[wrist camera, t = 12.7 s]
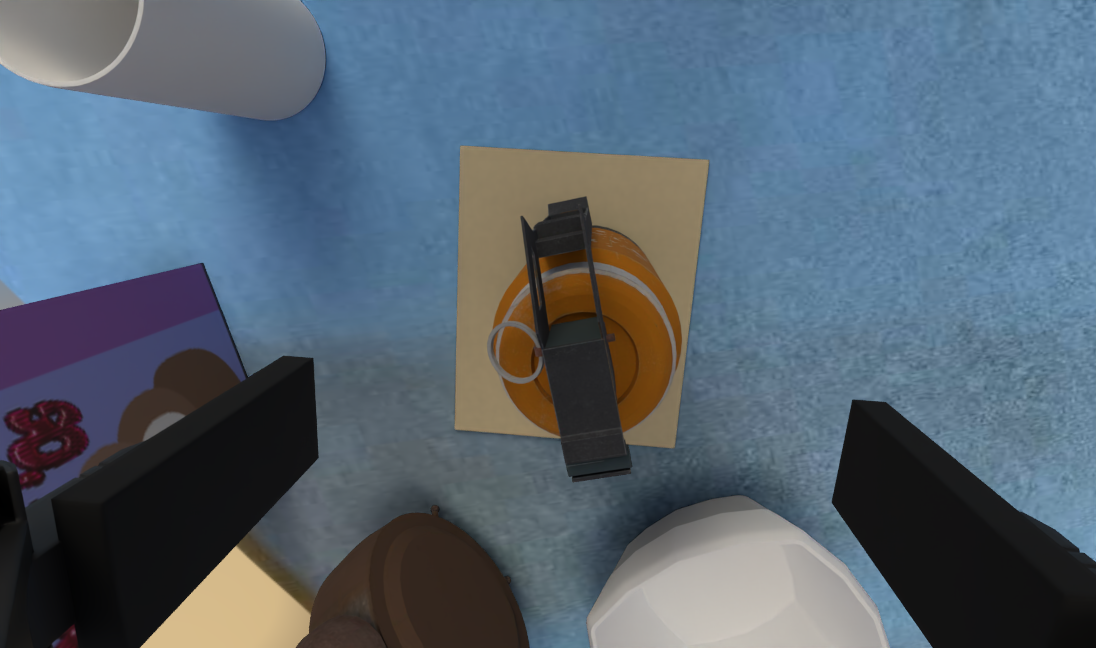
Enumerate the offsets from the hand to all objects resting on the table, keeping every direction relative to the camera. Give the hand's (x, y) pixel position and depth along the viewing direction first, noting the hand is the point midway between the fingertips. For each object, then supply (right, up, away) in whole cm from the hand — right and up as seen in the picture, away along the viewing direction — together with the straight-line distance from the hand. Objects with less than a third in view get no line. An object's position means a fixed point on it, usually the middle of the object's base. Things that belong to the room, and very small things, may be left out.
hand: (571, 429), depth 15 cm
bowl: (+12, -16, +31) cm, 37 cm away
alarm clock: (-8, -16, +32) cm, 37 cm away
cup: (-19, +20, +24) cm, 37 cm away
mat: (+1, +4, +26) cm, 27 cm away
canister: (+2, +6, +26) cm, 27 cm away
